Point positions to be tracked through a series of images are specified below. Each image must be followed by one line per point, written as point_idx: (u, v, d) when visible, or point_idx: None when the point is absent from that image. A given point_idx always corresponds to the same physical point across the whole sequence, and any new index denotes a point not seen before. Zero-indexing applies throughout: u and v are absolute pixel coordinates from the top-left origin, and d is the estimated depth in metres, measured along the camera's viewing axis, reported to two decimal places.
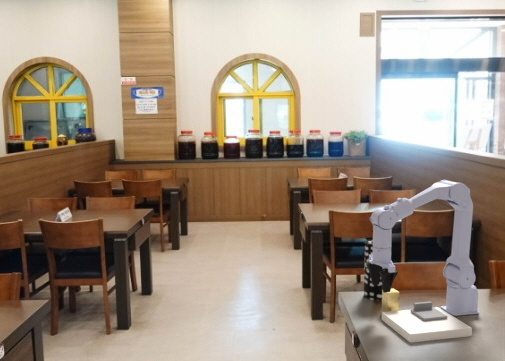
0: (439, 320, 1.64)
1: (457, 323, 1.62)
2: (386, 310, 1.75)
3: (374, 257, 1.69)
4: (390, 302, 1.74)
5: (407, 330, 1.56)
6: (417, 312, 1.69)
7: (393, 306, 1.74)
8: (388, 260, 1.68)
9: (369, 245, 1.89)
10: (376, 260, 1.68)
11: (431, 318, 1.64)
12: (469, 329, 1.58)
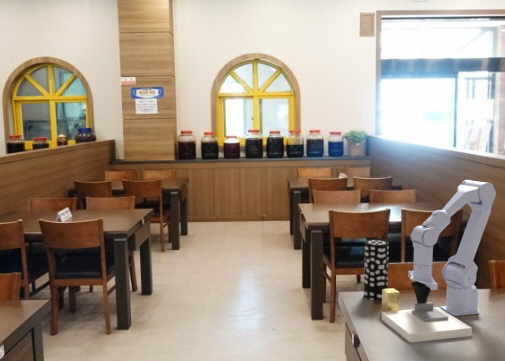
0: (439, 320, 1.64)
1: (457, 323, 1.62)
2: (386, 310, 1.75)
3: (415, 274, 1.70)
4: (390, 302, 1.74)
5: (407, 330, 1.56)
6: (418, 313, 1.68)
7: (393, 306, 1.74)
8: (429, 277, 1.69)
9: (369, 245, 1.89)
10: (417, 277, 1.69)
11: (432, 319, 1.64)
12: (469, 329, 1.58)
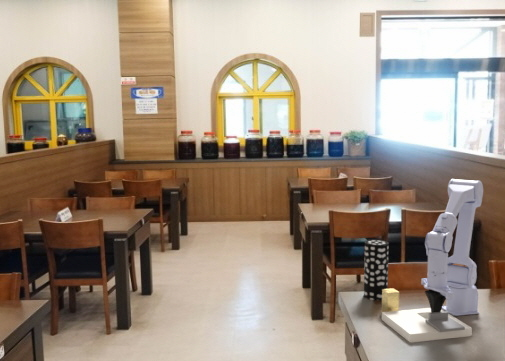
0: None
1: None
2: (386, 310, 1.75)
3: (429, 282, 1.62)
4: (390, 302, 1.74)
5: (407, 330, 1.56)
6: (433, 323, 1.60)
7: (393, 306, 1.74)
8: (444, 285, 1.61)
9: (369, 245, 1.89)
10: (432, 285, 1.61)
11: (448, 329, 1.56)
12: (469, 329, 1.58)
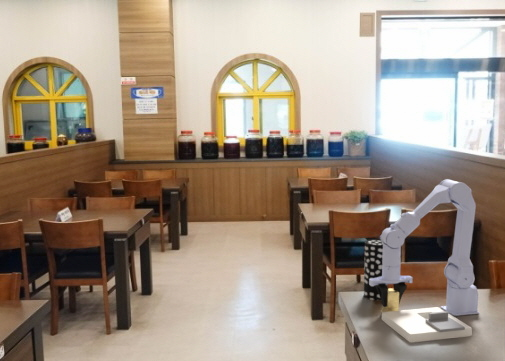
0: None
1: None
2: (386, 310, 1.75)
3: None
4: (390, 302, 1.74)
5: (407, 330, 1.56)
6: (433, 323, 1.60)
7: (393, 306, 1.74)
8: (385, 277, 1.74)
9: (369, 245, 1.89)
10: None
11: (448, 329, 1.56)
12: (469, 329, 1.58)
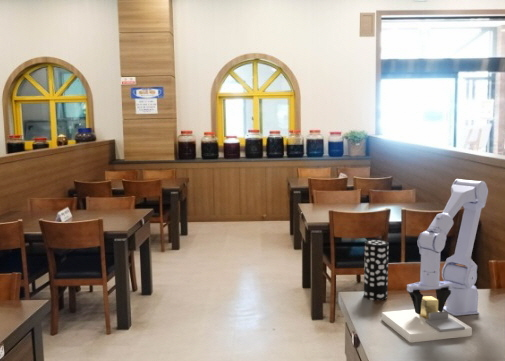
0: None
1: None
2: None
3: None
4: (429, 311, 1.66)
5: (407, 330, 1.56)
6: (433, 323, 1.60)
7: None
8: (423, 283, 1.66)
9: (369, 245, 1.89)
10: None
11: (448, 329, 1.56)
12: (469, 329, 1.58)
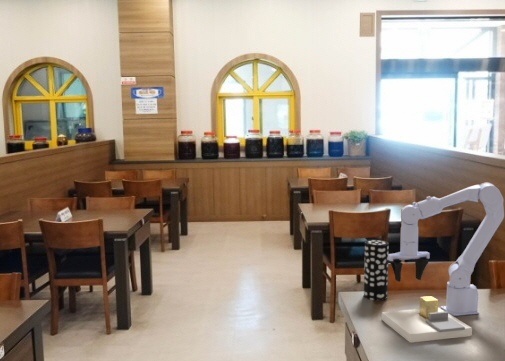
0: None
1: None
2: None
3: None
4: (429, 311, 1.66)
5: (407, 330, 1.56)
6: (433, 323, 1.60)
7: None
8: (403, 253, 1.80)
9: (369, 245, 1.89)
10: None
11: (448, 329, 1.56)
12: (469, 329, 1.58)
